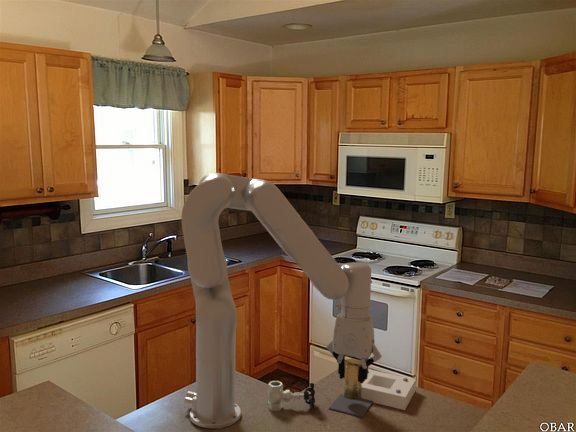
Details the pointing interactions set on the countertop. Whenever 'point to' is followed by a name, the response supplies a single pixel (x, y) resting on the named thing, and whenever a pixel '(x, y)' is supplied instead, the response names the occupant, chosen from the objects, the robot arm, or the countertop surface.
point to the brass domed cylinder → (352, 379)
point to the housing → (388, 389)
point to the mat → (351, 406)
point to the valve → (287, 395)
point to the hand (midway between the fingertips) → (352, 378)
